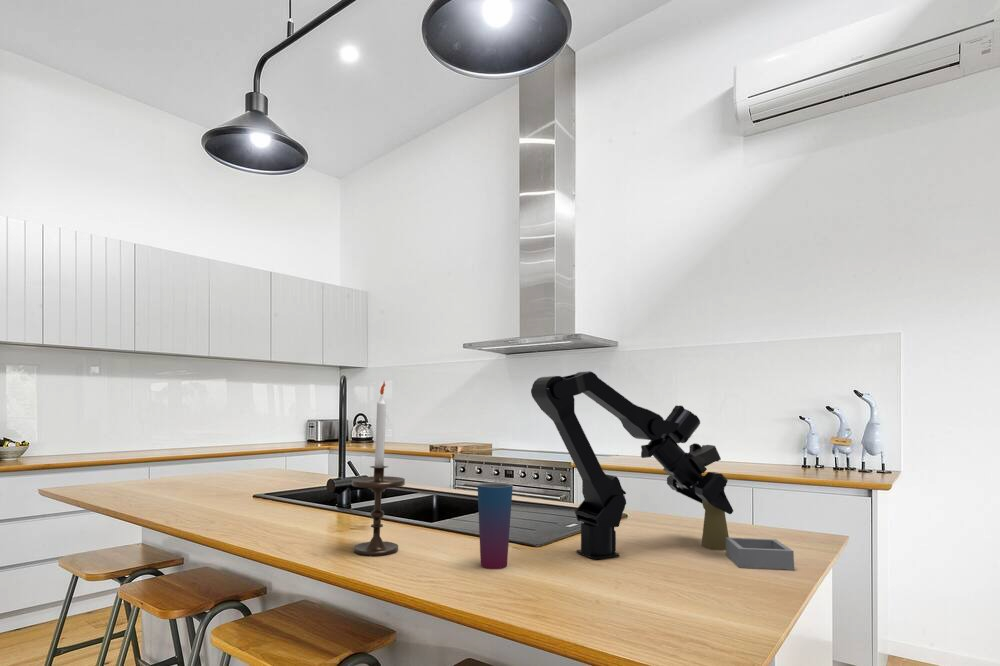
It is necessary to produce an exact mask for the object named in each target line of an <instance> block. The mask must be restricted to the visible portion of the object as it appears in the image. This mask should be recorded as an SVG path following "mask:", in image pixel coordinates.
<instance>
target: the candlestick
mask: <svg viewBox="0 0 1000 666" xmlns="http://www.w3.org/2000/svg"><path fill="white" fill-rule="evenodd" d="M385 387H386V383H385V380H383V383H382V385H381V387H380V390H379V393H380V396H379V397H380V398H379V400H378V401H377V402H376V417H375V418H376V419H375V420H376V421H375V422H376V423H375V424H376V425H375V446H374V465H372V466H369V468H370V469H371V468H372V469H373V476H362V477H356V478H352V479H351V486H352V487H354V488H362V489H368V490H371V492H372V493H374V505H373V506H374V509H373V510H372V511H371V512H370V517H371V518H372V519H373V520H372V521H373V522H372V524H371V525H370V528H372V530H373V531H372V532H373V533H372V537H371V539H370V540H369V541H365V542H361V543H358V544H355V545H354V546H353V551H352V552H353V554H355V555H357V556H360V557H386V556H390V555H393V554H394V555H395V554H397V553H398V552H399V544H398V543H395V542H392V541H391V542H390V541H383V540H382V537H381V528H383V527H384V524H382V518H383V517H384V515H385V512H384V510H382V509H381V508H382V493H384V492H385V490H388V489H391V488H398V487H403V486H405V482H406V480H405V478H404V477H400V476H390V475H389V476H388V475H387V476H385V469H386V468H389V466H388V465H387V466H386V465H385V439H386V417H387V416H386V413H387V411H386V410H387V402H385V399H384V393H385Z"/></svg>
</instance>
